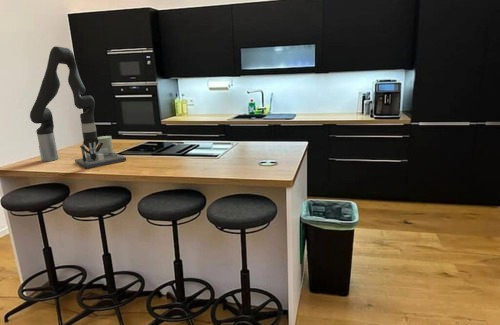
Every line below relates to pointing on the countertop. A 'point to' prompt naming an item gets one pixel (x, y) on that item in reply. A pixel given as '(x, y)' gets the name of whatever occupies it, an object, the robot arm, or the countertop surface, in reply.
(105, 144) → the can
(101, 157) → the fader
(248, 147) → the countertop surface
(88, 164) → the grey holder base
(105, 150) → the rack door
